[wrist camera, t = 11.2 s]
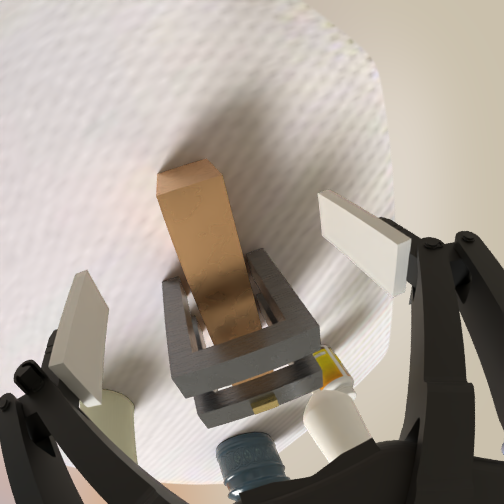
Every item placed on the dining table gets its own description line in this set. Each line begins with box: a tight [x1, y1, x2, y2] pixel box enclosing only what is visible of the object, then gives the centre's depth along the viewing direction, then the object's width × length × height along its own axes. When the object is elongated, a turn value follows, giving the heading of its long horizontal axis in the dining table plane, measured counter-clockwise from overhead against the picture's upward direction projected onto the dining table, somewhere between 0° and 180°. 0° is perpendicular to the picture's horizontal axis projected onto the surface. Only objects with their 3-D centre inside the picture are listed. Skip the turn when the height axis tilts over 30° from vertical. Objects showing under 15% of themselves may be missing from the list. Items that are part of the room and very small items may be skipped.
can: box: [80, 389, 138, 465], centre depth 34 cm, size 9×9×12 cm
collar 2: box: [191, 293, 323, 429], centre depth 31 cm, size 3×12×15 cm, turn 102°
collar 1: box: [162, 248, 321, 398], centre depth 28 cm, size 3×12×14 cm, turn 102°
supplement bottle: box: [313, 345, 356, 401], centre depth 42 cm, size 6×6×10 cm
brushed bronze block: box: [156, 158, 274, 386], centre depth 30 cm, size 24×5×8 cm, turn 12°
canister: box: [216, 432, 290, 502], centre depth 48 cm, size 13×13×18 cm
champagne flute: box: [303, 388, 372, 463], centre depth 33 cm, size 7×7×24 cm
